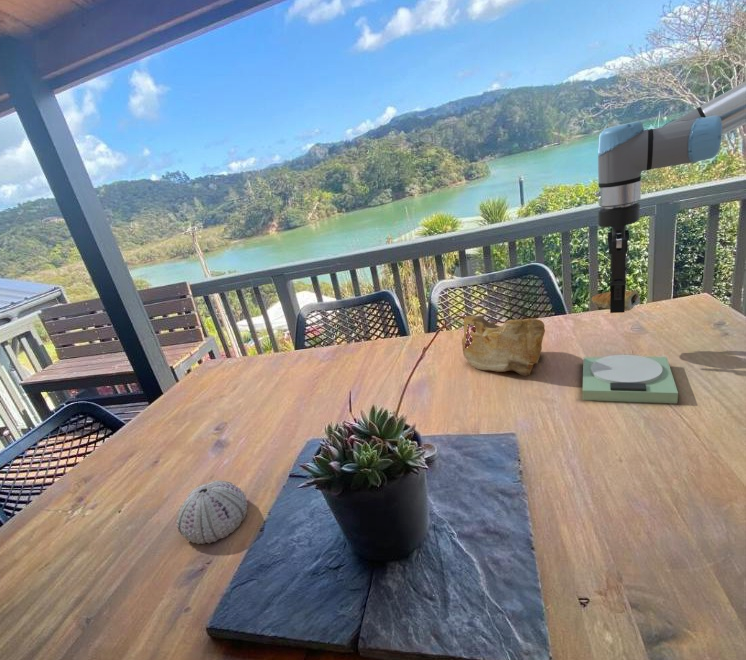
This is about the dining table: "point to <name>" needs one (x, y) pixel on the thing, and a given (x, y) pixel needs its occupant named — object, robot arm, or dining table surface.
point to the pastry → (604, 300)
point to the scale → (628, 379)
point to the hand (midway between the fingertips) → (616, 305)
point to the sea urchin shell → (211, 512)
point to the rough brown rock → (504, 344)
